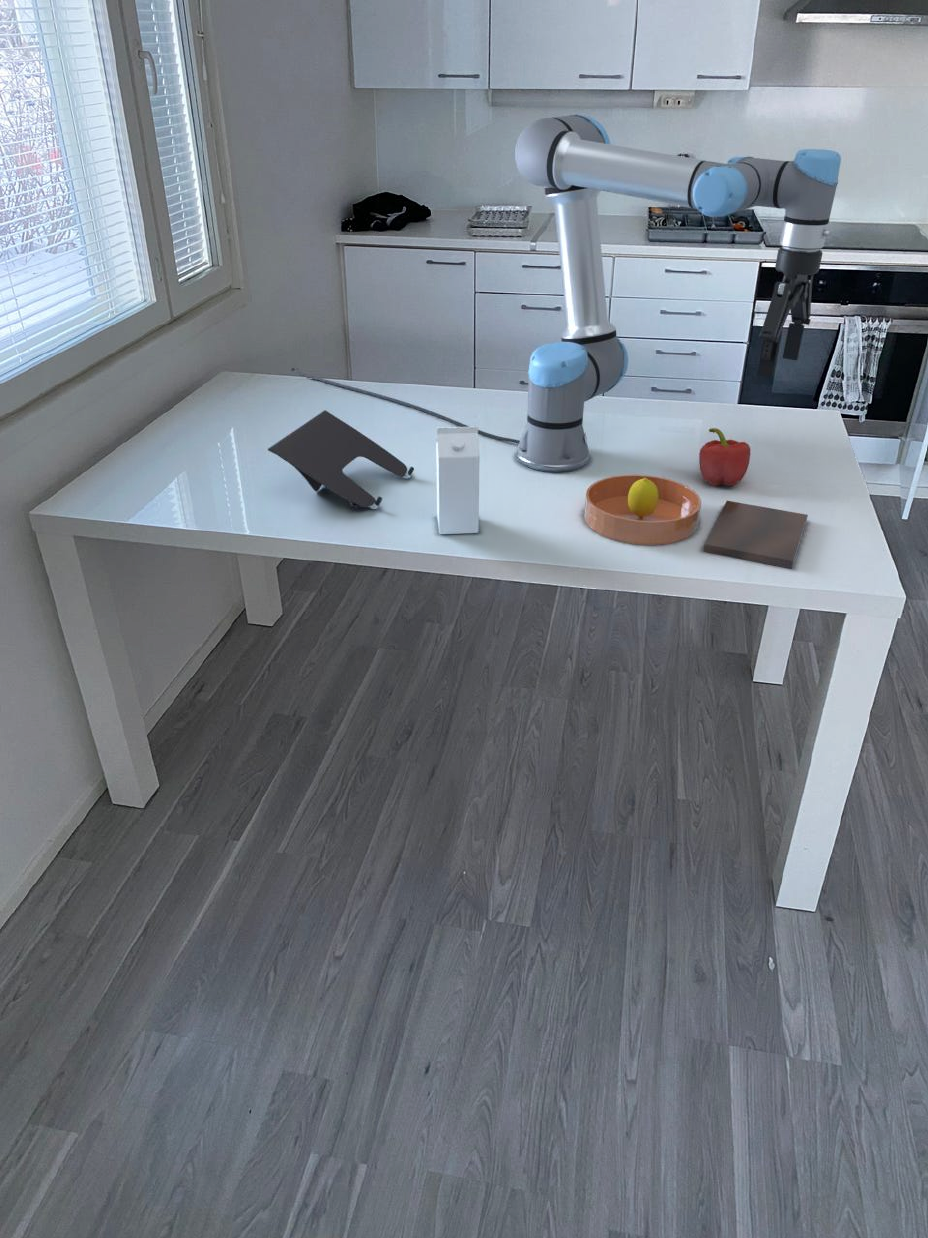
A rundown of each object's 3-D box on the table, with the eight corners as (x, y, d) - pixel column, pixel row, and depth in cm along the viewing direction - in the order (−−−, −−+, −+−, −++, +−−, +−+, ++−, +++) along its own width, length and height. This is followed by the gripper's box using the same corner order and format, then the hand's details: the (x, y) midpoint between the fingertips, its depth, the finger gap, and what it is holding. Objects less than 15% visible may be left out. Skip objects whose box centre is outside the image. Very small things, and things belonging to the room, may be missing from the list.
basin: (569, 531, 171) (570, 509, 168) (603, 488, 187) (605, 467, 185) (683, 554, 164) (686, 531, 161) (708, 507, 180) (711, 485, 178)
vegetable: (682, 475, 193) (689, 429, 188) (724, 468, 197) (731, 422, 191) (714, 495, 185) (722, 447, 179) (757, 487, 188) (766, 440, 183)
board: (703, 551, 164) (704, 543, 164) (725, 507, 180) (726, 500, 179) (791, 568, 159) (793, 561, 159) (806, 521, 175) (808, 514, 174)
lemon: (655, 525, 172) (660, 485, 168) (625, 522, 173) (629, 482, 169) (656, 512, 177) (661, 473, 173) (626, 510, 178) (630, 471, 174)
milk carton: (437, 518, 175) (435, 420, 165) (474, 516, 176) (476, 419, 166) (439, 535, 169) (438, 435, 159) (478, 533, 170) (479, 434, 160)
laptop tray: (356, 542, 179) (373, 506, 174) (256, 477, 180) (271, 439, 174) (404, 495, 198) (421, 462, 192) (313, 436, 198) (328, 401, 193)
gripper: (798, 262, 154) (773, 388, 165) (843, 240, 171) (818, 355, 183) (754, 256, 158) (733, 379, 169) (803, 235, 175) (781, 348, 186)
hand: (777, 367), depth 176 cm, fingers open, 13 cm apart
